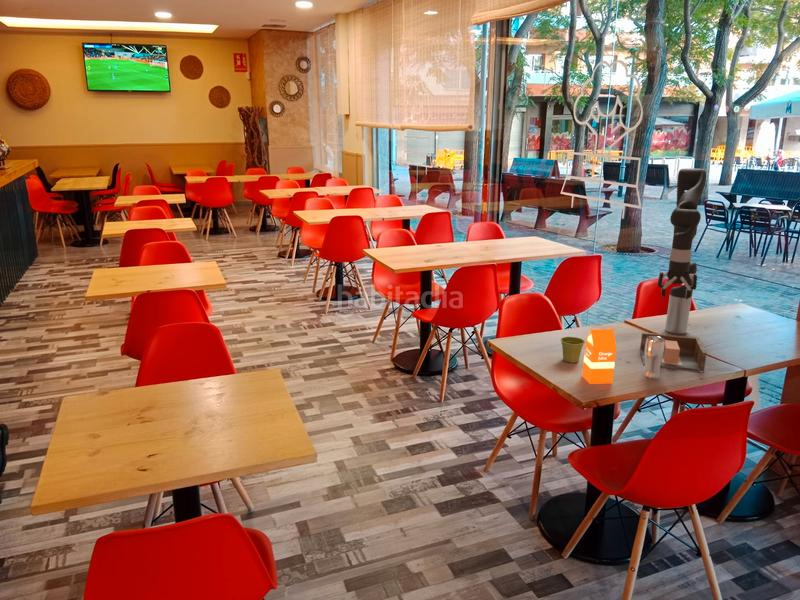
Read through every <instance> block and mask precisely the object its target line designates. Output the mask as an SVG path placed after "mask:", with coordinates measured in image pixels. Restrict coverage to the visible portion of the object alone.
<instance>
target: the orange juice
mask: <svg viewBox="0 0 800 600" xmlns="http://www.w3.org/2000/svg"><path fill="white" fill-rule="evenodd" d="M615 337H616V336H615V330H614V329H613V328H603V329H602V328H599V329H596V328H594V329H590V331H589V332H588V334H587V336H586V339H585V343H584V345H585V346H584V355H583V362H582V363H583V364H582V365H583V366H582V374H581V376H582V377H583V378H584V379H585V381H586V382H587V381H588V382H587V383H588V384H589V385H595V384H596V385H597V384H599V385H600V384H601V385H603V384H613V381H614V380H613V379H614V373H615V372H614V370H615V364H616V363H615V361H616V354H617V342H616V338H615Z"/></svg>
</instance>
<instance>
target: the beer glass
mask: <svg viewBox="0 0 800 600" xmlns="http://www.w3.org/2000/svg"><path fill="white" fill-rule="evenodd" d="M664 351H665V339H664V338H662V337H658V336H648V337H647V340H646V344H645V366H644V367H643V368H644V369H643V371H642V376H643V377H645V378H647V379H651V378H652V379H651V380H655V379H660V376H661V373H660V372H661V371H660V370H661V367H660V365H661V362H662V359H663V356H664Z"/></svg>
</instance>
